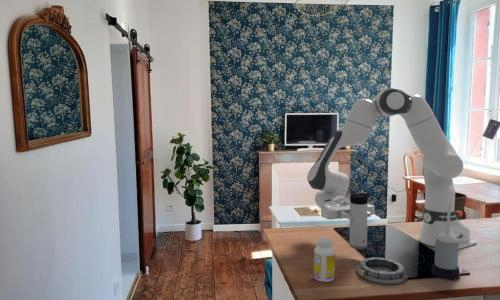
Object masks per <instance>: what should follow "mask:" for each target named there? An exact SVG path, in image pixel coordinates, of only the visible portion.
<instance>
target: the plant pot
mask: <svg viewBox="0 0 500 300" xmlns="http://www.w3.org/2000/svg"><path fill="white" fill-rule="evenodd" d="M467 197H468V196H467V195H466V194H464V193H461V192H456V191H455V206H454V210H455V211H461V212H462V213H464V210H465V205H466V201H467ZM457 218H458V220H459V221H460V222H461V218H462V216H458V215H457Z"/></svg>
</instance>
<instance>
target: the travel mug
mask: <svg viewBox="0 0 500 300" xmlns="http://www.w3.org/2000/svg"><path fill="white" fill-rule="evenodd" d="M368 197H369V193H364V192H363V193H362V192H361V193H360V192H359V193H357V192H356V193H352V194H350V196H349V200H350V214H352V215H353V219H349V247H351V248H352V249H355V250H356V249H357V250H364V249H367V247H368V217H367V214H368V205H367V204H369V203H368V200H369V199H368Z"/></svg>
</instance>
